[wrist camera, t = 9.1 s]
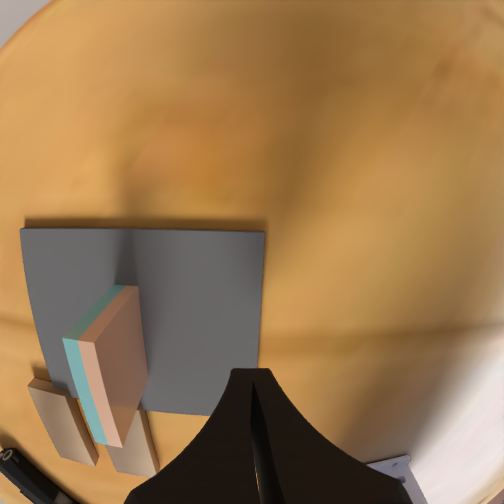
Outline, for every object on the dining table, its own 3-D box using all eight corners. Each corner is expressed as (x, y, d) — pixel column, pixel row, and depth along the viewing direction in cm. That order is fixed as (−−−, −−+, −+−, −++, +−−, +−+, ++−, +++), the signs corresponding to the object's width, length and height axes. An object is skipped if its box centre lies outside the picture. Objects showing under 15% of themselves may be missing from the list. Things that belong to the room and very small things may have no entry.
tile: (138, 286, 13) (93, 342, 8) (148, 377, 14) (122, 447, 9) (113, 284, 13) (62, 337, 8) (127, 374, 14) (95, 442, 9)
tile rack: (142, 399, 15) (138, 410, 14) (160, 468, 17) (157, 478, 16) (34, 377, 15) (26, 386, 14) (64, 447, 16) (60, 456, 15)
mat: (263, 231, 13) (264, 233, 13) (253, 411, 16) (253, 416, 15) (24, 227, 12) (19, 229, 12) (58, 389, 15) (55, 393, 15)
